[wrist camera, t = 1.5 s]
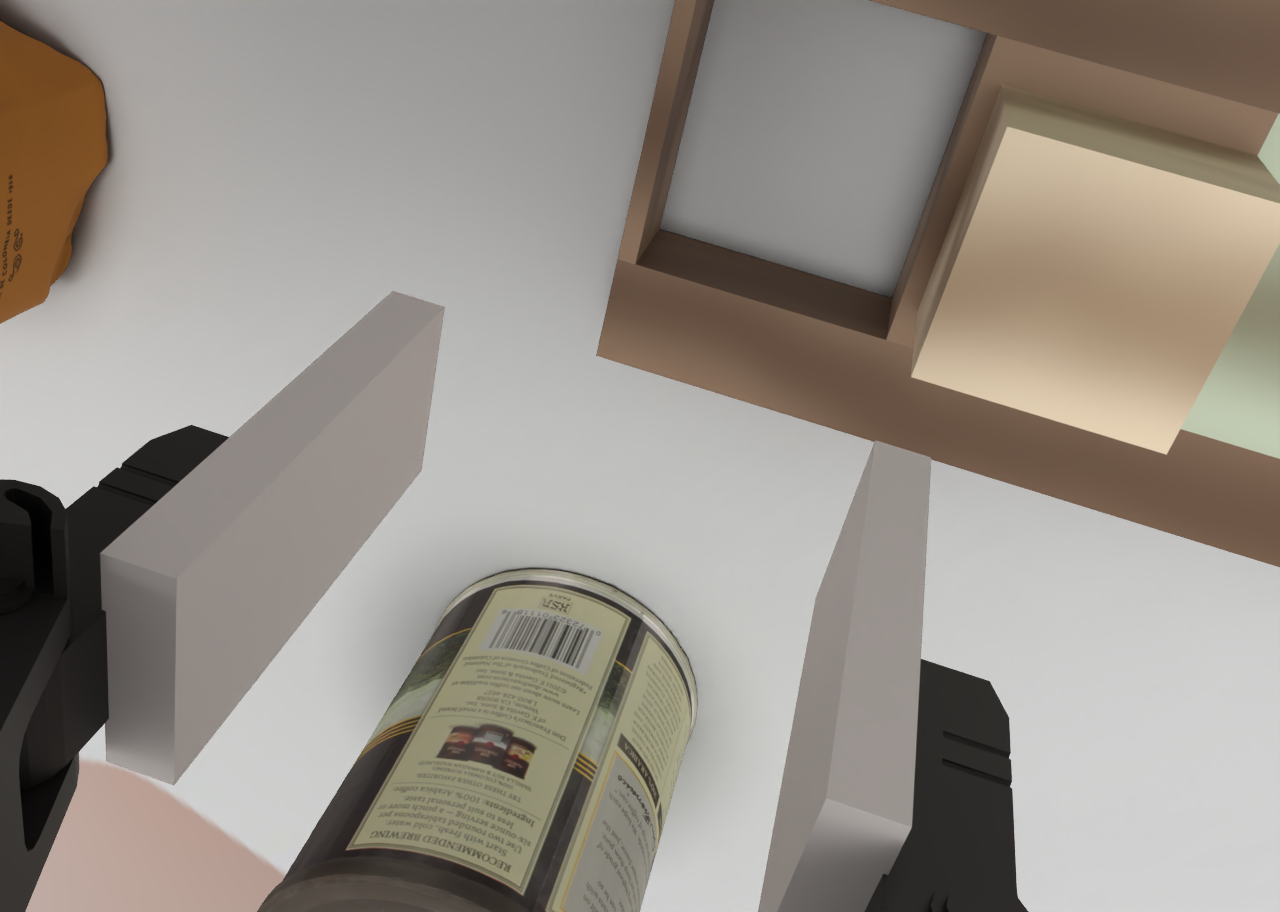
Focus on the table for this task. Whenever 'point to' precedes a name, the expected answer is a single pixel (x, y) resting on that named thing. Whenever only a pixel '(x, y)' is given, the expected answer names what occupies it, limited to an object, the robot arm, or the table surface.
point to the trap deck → (885, 327)
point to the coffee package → (43, 163)
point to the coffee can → (511, 762)
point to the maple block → (1094, 268)
